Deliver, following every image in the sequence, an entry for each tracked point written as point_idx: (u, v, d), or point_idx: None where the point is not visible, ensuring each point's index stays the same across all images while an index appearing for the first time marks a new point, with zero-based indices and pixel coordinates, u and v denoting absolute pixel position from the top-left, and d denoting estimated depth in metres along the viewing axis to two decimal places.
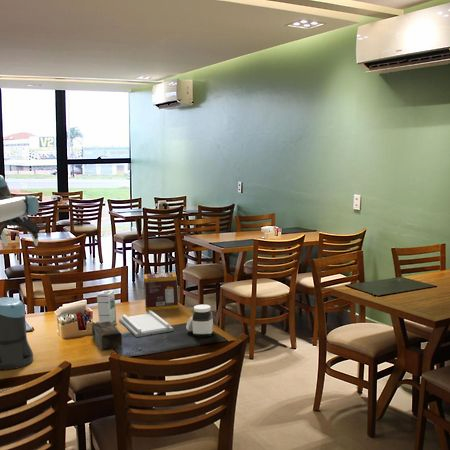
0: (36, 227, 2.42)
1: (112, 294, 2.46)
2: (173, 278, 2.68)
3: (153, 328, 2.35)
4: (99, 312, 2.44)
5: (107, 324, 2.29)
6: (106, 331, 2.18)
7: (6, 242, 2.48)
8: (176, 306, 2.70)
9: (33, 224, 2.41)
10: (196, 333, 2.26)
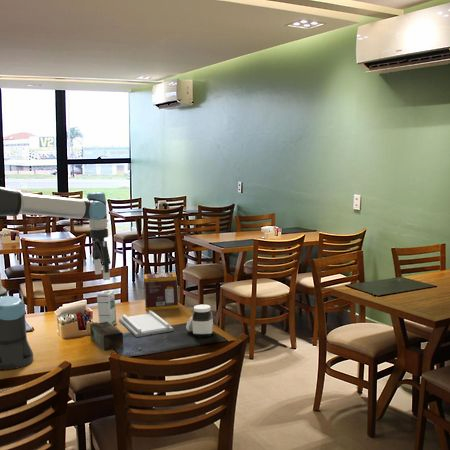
0: (107, 258, 2.36)
1: (112, 294, 2.46)
2: (173, 278, 2.68)
3: (153, 328, 2.35)
4: (99, 312, 2.44)
5: (106, 324, 2.29)
6: (107, 331, 2.18)
7: (97, 271, 2.51)
8: (176, 306, 2.70)
9: (106, 254, 2.36)
10: (196, 333, 2.26)
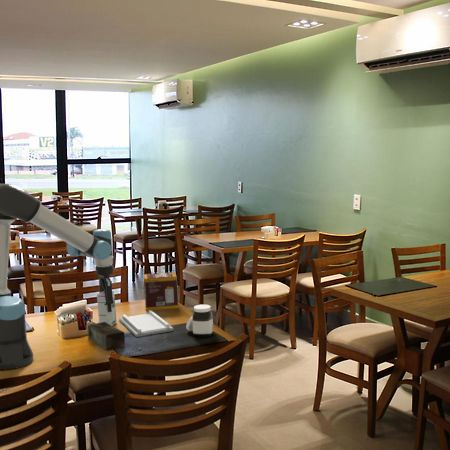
0: (110, 298, 2.39)
1: None
2: (173, 278, 2.68)
3: (153, 328, 2.35)
4: (99, 312, 2.44)
5: (104, 324, 2.29)
6: (108, 331, 2.18)
7: None
8: (176, 306, 2.70)
9: (110, 294, 2.39)
10: (196, 333, 2.26)
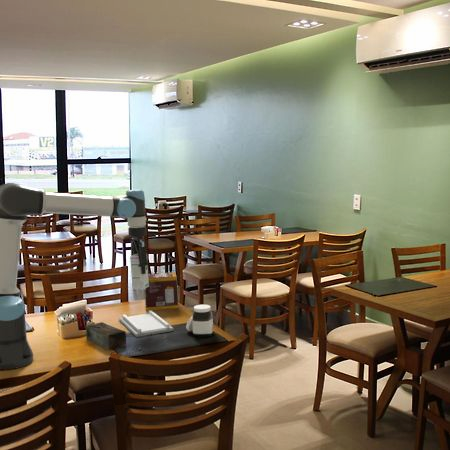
0: (144, 260, 2.34)
1: None
2: (173, 278, 2.68)
3: (153, 328, 2.35)
4: (132, 274, 2.39)
5: (102, 325, 2.28)
6: (109, 331, 2.19)
7: None
8: (176, 306, 2.70)
9: (144, 255, 2.34)
10: (196, 333, 2.26)
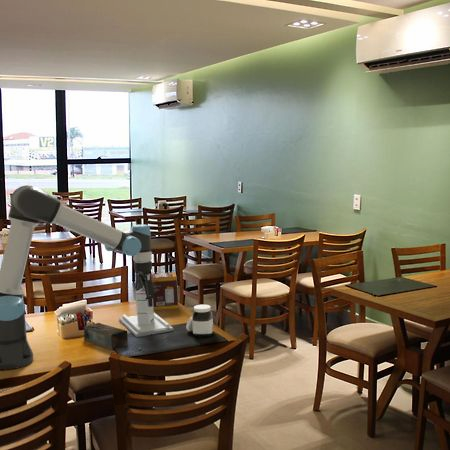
0: (151, 292, 2.33)
1: None
2: (173, 278, 2.68)
3: (153, 328, 2.35)
4: (138, 310, 2.40)
5: (100, 325, 2.28)
6: (110, 330, 2.19)
7: None
8: (176, 306, 2.70)
9: (150, 288, 2.34)
10: (196, 333, 2.26)
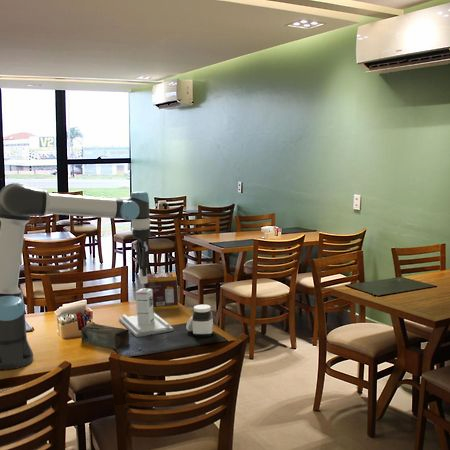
0: (146, 263, 2.36)
1: (151, 292, 2.42)
2: (173, 278, 2.68)
3: (153, 328, 2.35)
4: (138, 310, 2.40)
5: (97, 326, 2.27)
6: (112, 330, 2.19)
7: None
8: (176, 306, 2.70)
9: (146, 259, 2.36)
10: (196, 333, 2.26)
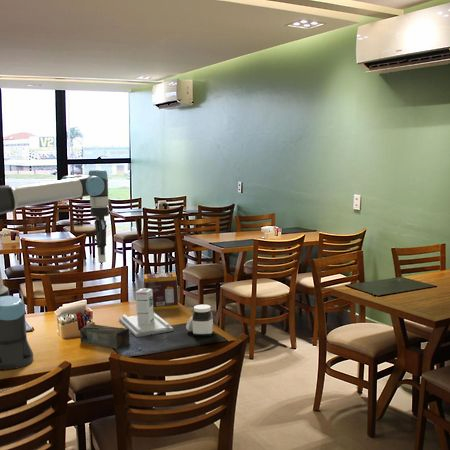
0: (103, 241, 2.36)
1: (151, 292, 2.42)
2: (173, 278, 2.68)
3: (153, 328, 2.35)
4: (138, 310, 2.40)
5: (96, 326, 2.27)
6: (113, 330, 2.19)
7: None
8: (176, 306, 2.70)
9: (103, 237, 2.35)
10: (196, 333, 2.26)
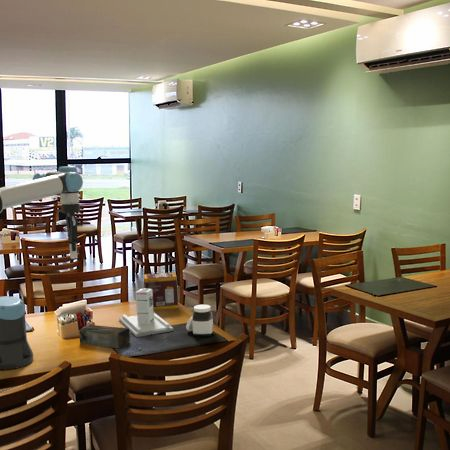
0: (74, 237, 2.36)
1: (151, 292, 2.42)
2: (173, 278, 2.68)
3: (153, 328, 2.35)
4: (138, 310, 2.40)
5: (95, 326, 2.27)
6: (113, 330, 2.20)
7: None
8: (176, 306, 2.70)
9: (74, 233, 2.36)
10: (196, 333, 2.26)
